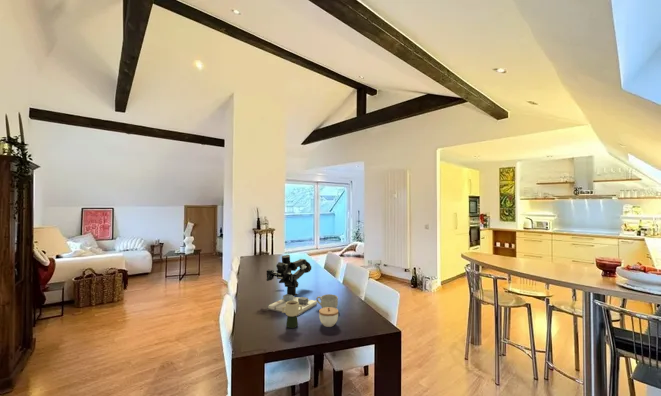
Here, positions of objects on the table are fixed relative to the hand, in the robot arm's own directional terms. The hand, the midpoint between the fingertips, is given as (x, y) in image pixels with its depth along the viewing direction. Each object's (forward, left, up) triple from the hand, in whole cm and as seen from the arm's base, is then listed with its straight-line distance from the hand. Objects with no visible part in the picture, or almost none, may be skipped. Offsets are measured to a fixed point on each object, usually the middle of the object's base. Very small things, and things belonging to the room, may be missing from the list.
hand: (272, 281), depth 190 cm
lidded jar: (+7, +45, -17) cm, 48 cm away
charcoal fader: (-9, +18, -15) cm, 25 cm away
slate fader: (-9, +6, -15) cm, 18 cm away
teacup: (-13, +33, -17) cm, 39 cm away
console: (-6, +12, -16) cm, 21 cm away
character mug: (+19, +29, -17) cm, 38 cm away
